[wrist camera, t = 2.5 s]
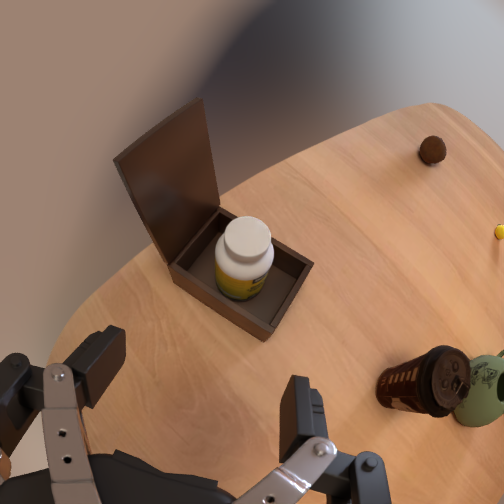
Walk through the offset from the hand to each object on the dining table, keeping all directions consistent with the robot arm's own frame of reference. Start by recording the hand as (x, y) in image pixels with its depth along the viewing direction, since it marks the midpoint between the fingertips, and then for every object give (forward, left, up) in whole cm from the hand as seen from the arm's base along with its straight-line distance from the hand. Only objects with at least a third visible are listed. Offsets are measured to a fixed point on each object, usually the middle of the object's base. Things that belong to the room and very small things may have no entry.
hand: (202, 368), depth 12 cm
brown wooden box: (-5, +13, -23) cm, 27 cm away
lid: (-13, +13, -9) cm, 21 cm away
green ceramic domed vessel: (+41, +18, -23) cm, 51 cm away
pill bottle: (-5, +13, -23) cm, 27 cm away
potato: (+17, +67, -24) cm, 73 cm away
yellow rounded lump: (+43, +59, -24) cm, 77 cm away
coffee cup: (+23, +11, -24) cm, 35 cm away
